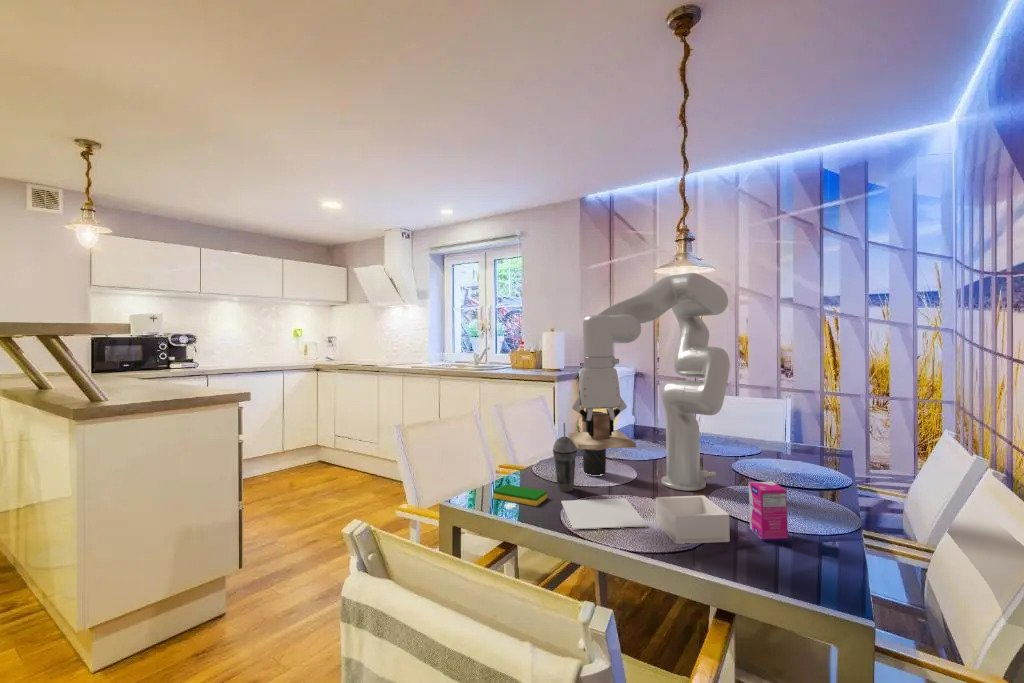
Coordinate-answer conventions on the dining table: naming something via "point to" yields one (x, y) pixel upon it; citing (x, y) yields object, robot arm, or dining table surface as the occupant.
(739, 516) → the dining table surface
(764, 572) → the dining table surface
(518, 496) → the dish sponge
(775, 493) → the supplement box
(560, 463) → the beverage cup
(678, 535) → the white open box
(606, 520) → the mat
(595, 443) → the lid
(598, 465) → the travel mug
